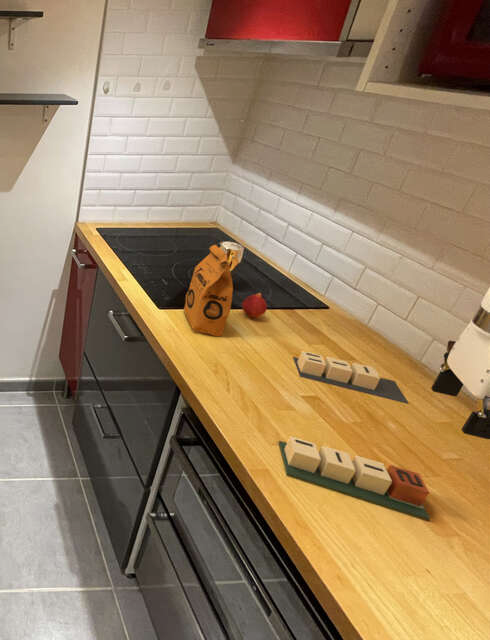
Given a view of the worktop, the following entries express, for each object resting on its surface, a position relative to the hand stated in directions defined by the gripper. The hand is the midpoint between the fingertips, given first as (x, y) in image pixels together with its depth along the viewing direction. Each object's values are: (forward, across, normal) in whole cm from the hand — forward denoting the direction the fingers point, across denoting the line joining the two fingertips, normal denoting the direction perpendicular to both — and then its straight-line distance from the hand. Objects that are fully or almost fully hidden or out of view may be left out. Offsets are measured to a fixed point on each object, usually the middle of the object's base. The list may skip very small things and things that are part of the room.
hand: (458, 412), depth 72 cm
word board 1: (+18, +29, +2) cm, 34 cm away
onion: (+18, +50, +19) cm, 56 cm away
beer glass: (+18, +65, +26) cm, 72 cm away
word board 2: (+17, -3, +10) cm, 20 cm away
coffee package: (+18, +40, +32) cm, 54 cm away
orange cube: (+17, -3, +3) cm, 17 cm away
